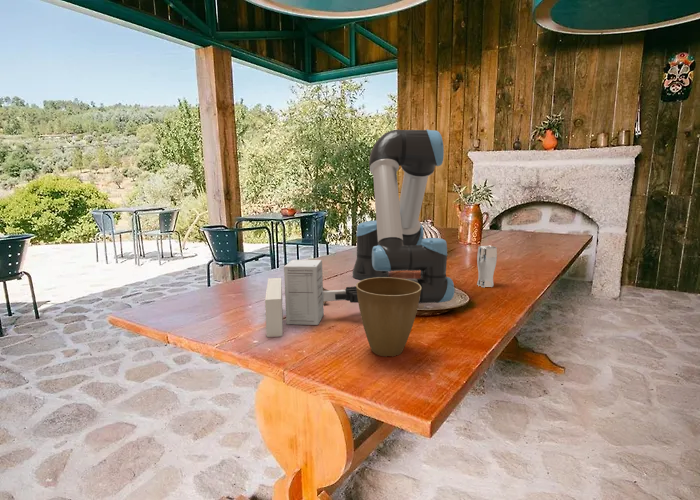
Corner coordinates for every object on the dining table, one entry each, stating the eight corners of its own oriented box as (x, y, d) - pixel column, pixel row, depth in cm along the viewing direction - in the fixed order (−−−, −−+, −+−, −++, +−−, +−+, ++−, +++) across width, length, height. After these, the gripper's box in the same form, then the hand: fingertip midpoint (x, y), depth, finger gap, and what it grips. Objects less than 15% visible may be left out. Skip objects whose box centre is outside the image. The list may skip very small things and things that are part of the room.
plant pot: (343, 354, 89) (343, 287, 86) (375, 333, 101) (376, 274, 98) (401, 371, 81) (403, 298, 78) (429, 346, 93) (431, 282, 90)
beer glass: (496, 284, 148) (498, 246, 146) (492, 289, 142) (495, 249, 140) (477, 282, 152) (480, 244, 149) (473, 286, 146) (475, 247, 143)
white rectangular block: (282, 308, 121) (281, 277, 119) (282, 336, 99) (281, 299, 98) (269, 309, 120) (268, 278, 118) (266, 337, 99) (265, 299, 97)
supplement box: (324, 314, 115) (323, 259, 113) (318, 325, 106) (317, 266, 103) (293, 313, 116) (291, 258, 113) (285, 324, 107) (283, 265, 104)
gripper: (408, 310, 109) (325, 316, 105) (395, 297, 121) (320, 301, 117) (409, 285, 107) (325, 289, 103) (395, 274, 120) (320, 277, 116)
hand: (323, 296), depth 110 cm, fingers closed
